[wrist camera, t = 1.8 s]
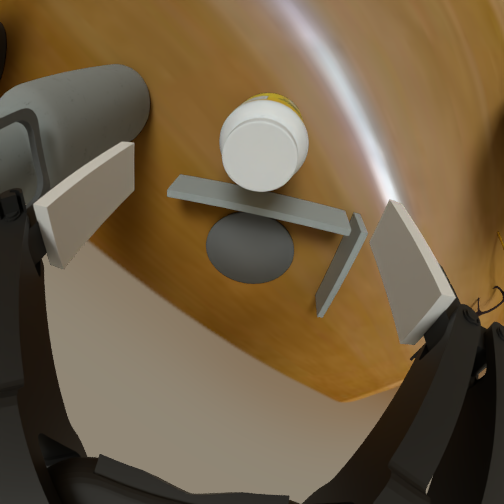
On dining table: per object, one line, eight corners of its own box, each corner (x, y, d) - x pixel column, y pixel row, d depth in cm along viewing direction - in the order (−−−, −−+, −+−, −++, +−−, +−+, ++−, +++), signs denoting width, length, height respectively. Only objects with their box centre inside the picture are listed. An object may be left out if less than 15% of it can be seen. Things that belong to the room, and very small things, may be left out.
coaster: (203, 271, 38) (203, 273, 38) (211, 203, 32) (210, 204, 31) (281, 288, 39) (281, 290, 38) (304, 223, 32) (304, 225, 32)
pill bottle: (302, 152, 27) (312, 206, 18) (239, 153, 28) (214, 206, 19) (301, 90, 23) (313, 106, 14) (233, 93, 24) (200, 111, 15)
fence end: (315, 295, 39) (317, 316, 36) (353, 212, 30) (361, 231, 27) (320, 296, 39) (322, 317, 36) (359, 214, 30) (367, 233, 27)
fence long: (179, 180, 30) (167, 196, 27) (180, 174, 30) (167, 189, 27) (342, 216, 31) (348, 236, 28) (344, 210, 30) (351, 230, 27)
